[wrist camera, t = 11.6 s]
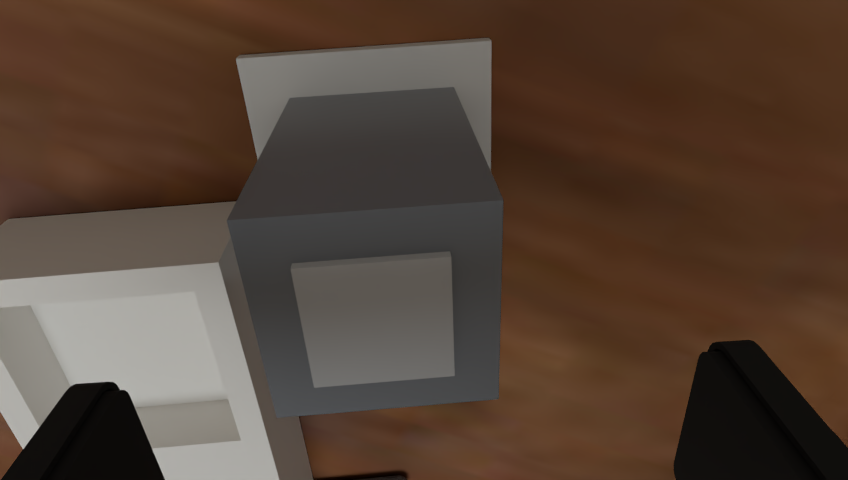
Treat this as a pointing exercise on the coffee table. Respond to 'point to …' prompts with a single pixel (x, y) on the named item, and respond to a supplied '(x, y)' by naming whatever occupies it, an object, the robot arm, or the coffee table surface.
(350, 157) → the block
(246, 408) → the power strip
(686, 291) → the coffee table surface
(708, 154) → the coffee table surface
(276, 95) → the felt pad
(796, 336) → the coffee table surface
